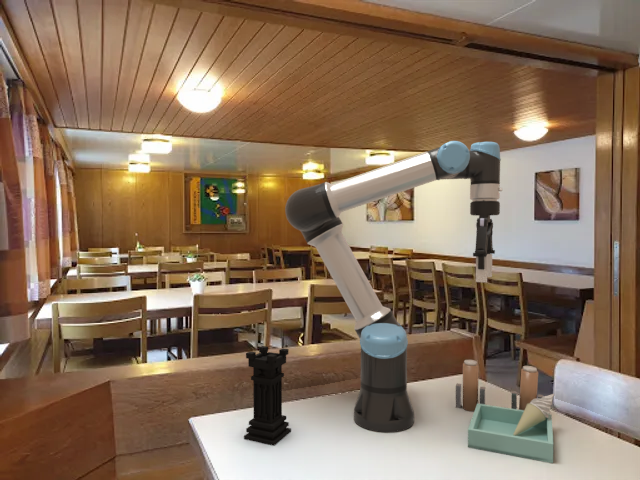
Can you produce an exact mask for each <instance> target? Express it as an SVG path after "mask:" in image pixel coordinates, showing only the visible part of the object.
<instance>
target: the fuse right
mask: <svg viewBox="0 0 640 480" xmlns="http://www.w3.org/2000/svg"><path fill="white" fill-rule="evenodd" d="M520 371H521V372H520V383H519V384H520V387H519V402H518V410H525V408H526V405H527V403H530V402H531V401H532V400H533V399H538V385H539V384H538V383H539V381H538V380H539V371H538V370H537V367H536V366H531V365H524V366H522V368H521V369H520Z"/></svg>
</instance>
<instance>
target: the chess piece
mask: <svg viewBox="0 0 640 480" xmlns="http://www.w3.org/2000/svg"><path fill="white" fill-rule="evenodd" d="M258 352H259V353H256V351H247V352H246V353H245V359H248V360H247V361H248V367H250V368H252V369H253V370H252V371H253V372H252V375H251V376H250V381H253V384H252V385H253V394H252V395H253V418H252V419H249V421H248V425H249V426H248V427H247V428H245V429H246V430H245V431H246V434H244V436H243V440H247V441H251V442H255V443H259V444H264V445H268V446H269V445H270V446H272V447H274V446H276V445H277V444H278V443H279V442H280V441H282V440H283V439H284V438H286V437H287V436H288V435H289V434H290V433H291V432H292V428H290V427H289V425H290V422H288V421H286V420H287V415H283V403H282V402H283V401H282V400H283V398H282V397H283V396H282V395H283V394H282V391H283V390H282V389H283V386H282V385H283V382H282V378H284V377H285V372H282V370H283V365H285V364H287V356H288V355H289V348H280V349H279V351H278V352H272V351H271V352H270V351H269V346H266V345H262V346H260V347H258Z"/></svg>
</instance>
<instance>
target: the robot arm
mask: <svg viewBox="0 0 640 480" xmlns="http://www.w3.org/2000/svg"><path fill="white" fill-rule="evenodd" d="M500 150H501V149H500V145H499V144H498V142H494V141H481V142H480V141H478V142H474V143H472V144H471V146H470V149H469V148H468V146H467V145H466V144H465V143H463V142H461V141H459V140H450V141H448V142H446V143H443V144H442V145H441V146H439V147H436V148H432V149H429V150H428V151H424V152H422V153H419V154H416V155H412V156H409V157H407V158H404V159H401V160H398V161H395V162H392V163H390V164H387V165H384V166H380V167H378V168H375V169H372V170H370V171H367V172H363V173H361V174H357V175H355V176H352V177H349V178H346V179H344V180H341V181H336V182H334V183H330V182H327V181H325V182H322V183H319V184H315V185H311V186H307V187H304V188H299V189H298V190H296V191H294V192H293V193H292V194H291V195H290V196H289V197H288V198H287V201H286V203H285V207H284V211H285V217H286V220H287V221H288V223H289V224H290V225H291V226H292V227H293V228H294V229H296V230H297V231H300V232H301V235H302V236H303V238H304V240H305V241H306V244H307V245H310V246H312V247H315V249H316V250H317V253H318V254H319V256H320V259H321V260H322V261H323V264H324V265H325V267H326V270H327V271H328V273H329V275H330V276H331V277H332V280H333V282H334V283H335V285H336V287H337V289H338V291H339V293H340V295H341V297H342V298H343V300H344V301H345V303H346V305H347V307H348V309H349V310H350V312H351V314H352V316H353V318H354V320H355V323H354V327H353V329H354V331H355V333H356V334H357V336H358V338H359V345H360V389H359V391H358V395H357V399H356V401H355V405H354V408H353V420H354V422H355V423H356V424H357V425H358V426H359V427H361V428H363V429H366V430H370V431H373V432H381V433H392V432H393V433H394V432H400V431H404V430H407V429H409V428H411V427H412V426H413V425H414V422H415V417H414V416H415V413H414V409H413V406H412V403H411V399H410V396H409V393H408V388H407V387H408V345H409V343H408V342H409V340H408V335H407V332H406V330H405V329H404V327H403V326H402V325H401V324H400V323H399V322H398V320H397V319H396V317H395V314H394V313H393V312H392V310H391V308H390V307H386V306H383V304H382V303H381V300H380V299H379V297H378V296H377V293H376V292H375V290H374V288H373V286H372V285H371V283H370V281H369V279H368V277H367V276H366V274H365V272H364V271H363V269H362V267H361V265H360V263H359V262H358V259H357V258H356V256H355V254H354V253H353V250H352V248H351V247H350V245H349V243H348V242H347V240H346V238H345V236H344V234H343V233H342V232H343V227H344V223H343V222H342V220H341V218H340V215H341V213H343V212H346V211H349V210H352V209H355V208H358V207H361V206H363V205H366V204H370V203H373V202H376V201H379V200H381V199H384V198H388V197H390V196H393V195H396V194H400V193H402V192H405V191H408V190H411V189H414V188H418V187H420V186H423V185H425V184H429V183H432V182H435V181H440V180H459V179H461V180H463V179H464V180H470V185H469V186H470V187H469V192H470V193H469V199H470V200H471V202H470V205H469V207H470V208H469V212H470V213H469V214H470V215H471V216H474V217H475V216H476V217H477V216H479V217H477V219H476V222H475V223H476V224H475V227H476V233H475V234H476V237H475V249H474V250H475V251H474V252H472V257H475V283H488V278H492V277H493V254H494V255H495V253H496V250H495V249H494V245H493V234H494V233H493V232H494V231H493V228H494V222H493V220H492V218H491V216H498V215H500V212H501V211H500V209H501V208H500V207H501V205H500V201H499V200H500V199H501V198H500V197H501V195H500V192H502V191H503V187H500V183H501V182H500V181H501V160H502V158H501V151H500Z"/></svg>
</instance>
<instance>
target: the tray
mask: <svg viewBox="0 0 640 480" xmlns="http://www.w3.org/2000/svg"><path fill="white" fill-rule="evenodd" d="M523 412H524V410H519V408H518V409H511V407H505V406H504V407H503V406H497V405H491V404H490V405H489V404H486V403H485V404H480V403H479V402H478V403H477V405H476V408H475V411H473V414H472V417H471V420H470V422H469V426H468V428H467V448H468V449H469V448H470V449H476V450H480V451H481V450H482V451H484V452H485V451H487V452H491V453H495V454H496V453H497V454H501V455H502V454H503V455H506V456H513V457H516V458H517V457H519V458H523V459H527V460H533V461H538V462H543V463H550V464H554V435H553V434H554V433H553V417H552V414H548V415H549V417H548V418H546V420H545V421H542V422H540V423H538V424H537V425H535V426H533V427H531V428H529V429H527V430H526V431H524V432H522V433H520V434H518V435H516V436H514V435H513V434H514V432H515V429H516V427H517V425H518V423H519V421H520V419H521V416H522V414H523Z"/></svg>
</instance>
